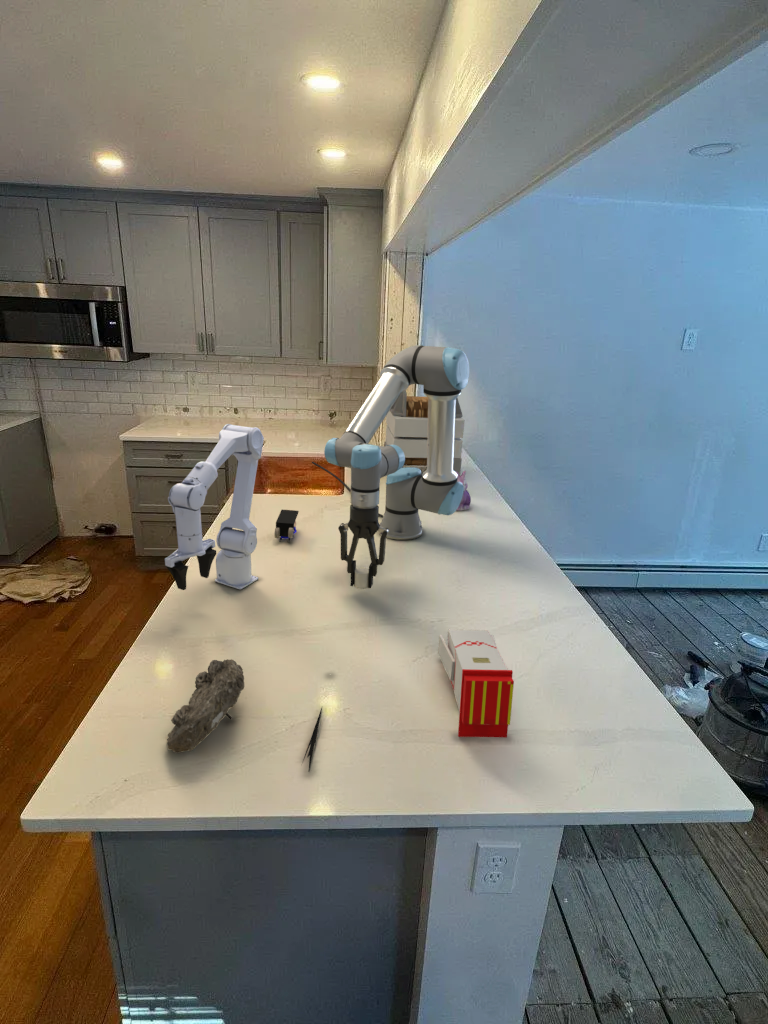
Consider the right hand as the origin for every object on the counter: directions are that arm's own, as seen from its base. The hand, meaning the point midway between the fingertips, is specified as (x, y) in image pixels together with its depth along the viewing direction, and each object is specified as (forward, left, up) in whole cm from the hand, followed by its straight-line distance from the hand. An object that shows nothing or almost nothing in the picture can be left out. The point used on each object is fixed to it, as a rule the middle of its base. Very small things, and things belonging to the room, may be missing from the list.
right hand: (361, 584), depth 156 cm
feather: (+35, -38, -3) cm, 51 cm away
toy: (+47, -8, -3) cm, 48 cm away
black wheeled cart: (-47, +5, -3) cm, 47 cm away
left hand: (-18, -40, +5) cm, 44 cm away
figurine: (-34, +78, -3) cm, 85 cm away
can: (0, 0, 0) cm, 0 cm away
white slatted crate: (-80, +99, -3) cm, 128 cm away
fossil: (+22, -53, -3) cm, 58 cm away
